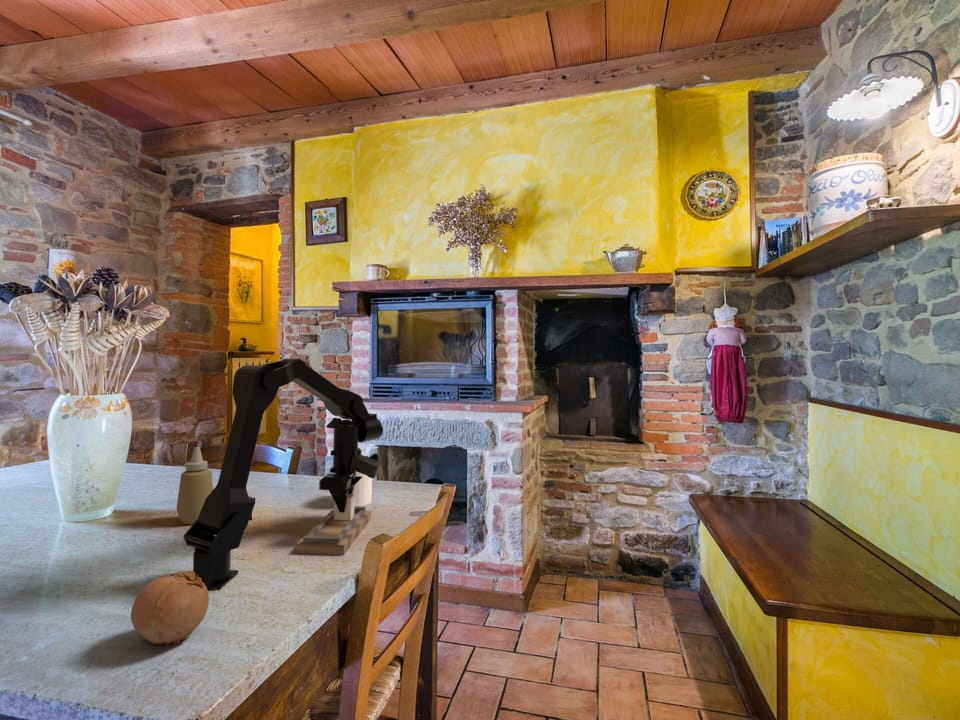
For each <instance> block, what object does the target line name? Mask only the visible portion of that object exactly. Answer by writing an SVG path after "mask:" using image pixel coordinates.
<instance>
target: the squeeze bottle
mask: <svg viewBox="0 0 960 720" xmlns="http://www.w3.org/2000/svg"><path fill="white" fill-rule="evenodd" d="M190 459H191V460H190V461H188V462H186V463H185V471H182V473H181V474H180V478H179V479H180V481H179V487H178V494H177V502H176V507H175V509H176V512H177V515H178V517H179V519H180V522H181V523H182V524H184V525H193V524H194V522H195V521H196V520H197V519H198V517H199V514H200V512H201V509H202V507H203V504H204V502H205V500H206V498H207V497H208V495H209V494H210V493H211V492H212V490H213V489H214V485H213V484H214V483H213V476H212V475H213V474H212V470H210V469H208V461H207V460H204V459H203V455H202V451H201V447H200V446H197V447H195V446H194V448H193V451H192V455H191V458H190Z"/></svg>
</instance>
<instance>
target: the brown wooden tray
mask: <svg viewBox="0 0 960 720" xmlns="http://www.w3.org/2000/svg"><path fill="white" fill-rule="evenodd" d="M366 509H367V506H364V507H357V506H354V517H353V518H352V519H351V521H347V520H334V509H332V510H330V511H329V512H327V514H326V515H325V516H323V518H322V519H321V520H319V522H318V523H317V524H316V525H314V527H312V529H310V530H309V531H308V532H307V533H306V534H305V535H304V536H303V537H302V538H301V539H300V540H299V541H298V542H296V546H295V547H296V548H295V550H296V551H295V553H296V554H300V555H301V554H304V555H306V554H307V555H331V556H332V555H338V556H339V555H341V556H344V555H345V554H346V553H347V552H348V550H349V549H350V548H351V547H352V546H353V544H354V543H355V541H356V540H357V538H358V537H359V535H361V533H362V531H363V530H364V529H365V528H366V527H367V525H368V524H369V522H370V521H371V519H372V510H371V511H370V510H366Z"/></svg>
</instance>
